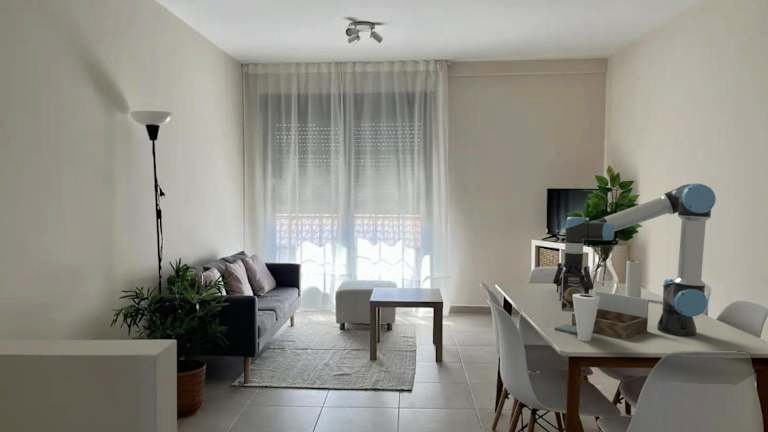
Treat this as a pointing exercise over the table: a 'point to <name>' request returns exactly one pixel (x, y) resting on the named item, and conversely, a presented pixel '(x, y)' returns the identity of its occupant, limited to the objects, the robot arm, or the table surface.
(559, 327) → the slate mat
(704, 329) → the table surface
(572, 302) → the coffee box
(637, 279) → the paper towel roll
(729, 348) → the table surface
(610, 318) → the wooden tray
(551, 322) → the table surface
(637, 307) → the lid
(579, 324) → the cup
